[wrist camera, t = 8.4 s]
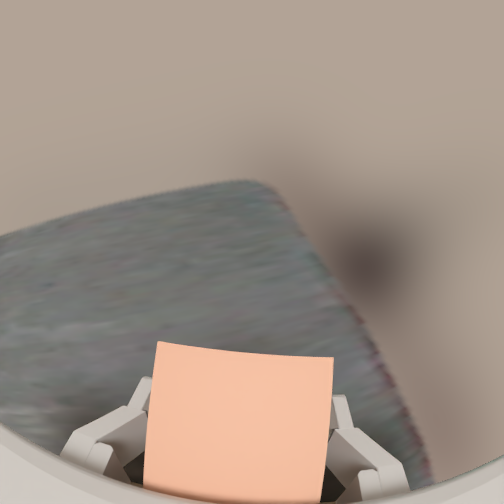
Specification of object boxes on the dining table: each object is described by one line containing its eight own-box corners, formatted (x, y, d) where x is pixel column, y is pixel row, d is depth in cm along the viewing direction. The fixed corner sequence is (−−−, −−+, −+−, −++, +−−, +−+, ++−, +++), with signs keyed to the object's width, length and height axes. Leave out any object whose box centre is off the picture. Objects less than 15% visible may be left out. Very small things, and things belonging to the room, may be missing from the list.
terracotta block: (278, 446, 12) (317, 514, 4) (200, 439, 12) (142, 496, 4) (284, 375, 14) (333, 357, 6) (208, 368, 14) (158, 341, 6)
